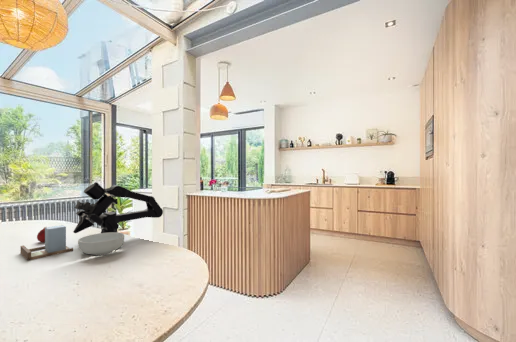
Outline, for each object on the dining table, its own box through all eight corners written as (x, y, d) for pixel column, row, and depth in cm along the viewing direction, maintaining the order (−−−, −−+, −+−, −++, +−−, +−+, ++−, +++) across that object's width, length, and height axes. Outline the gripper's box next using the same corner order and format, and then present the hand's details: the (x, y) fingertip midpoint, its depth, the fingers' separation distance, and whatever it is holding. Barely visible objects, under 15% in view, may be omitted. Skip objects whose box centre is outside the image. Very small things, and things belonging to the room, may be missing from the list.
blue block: (62, 247, 109) (62, 225, 109) (65, 249, 106) (65, 226, 106) (45, 250, 104) (45, 227, 104) (48, 253, 101) (48, 229, 101)
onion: (45, 245, 114) (45, 228, 114) (33, 245, 114) (33, 228, 114) (56, 241, 120) (55, 225, 120) (44, 241, 120) (44, 225, 120)
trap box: (63, 246, 113) (63, 238, 112) (73, 252, 105) (73, 243, 105) (20, 255, 101) (20, 245, 101) (27, 263, 93) (27, 252, 93)
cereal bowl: (132, 247, 112) (132, 232, 112) (106, 261, 96) (106, 243, 96) (98, 245, 114) (98, 231, 114) (67, 259, 98) (67, 241, 97)
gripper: (80, 193, 120) (52, 219, 111) (95, 196, 109) (65, 225, 100) (98, 207, 126) (73, 233, 118) (114, 211, 115) (87, 240, 107)
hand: (74, 232), depth 110 cm, fingers closed
